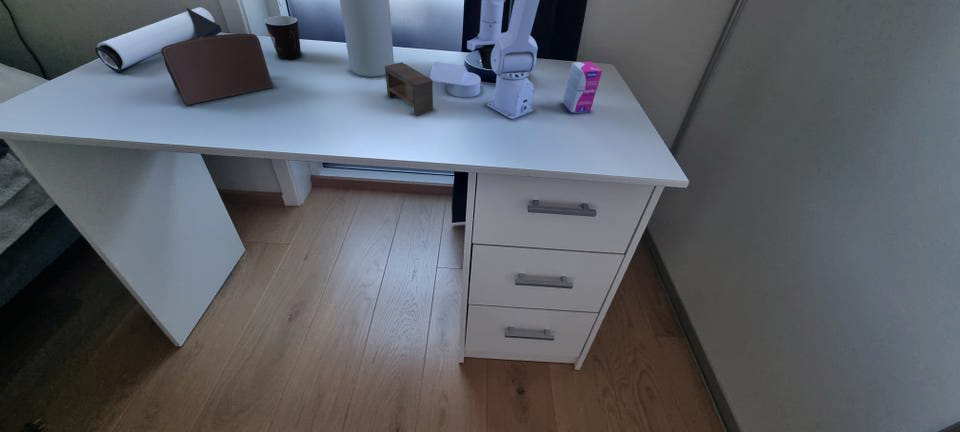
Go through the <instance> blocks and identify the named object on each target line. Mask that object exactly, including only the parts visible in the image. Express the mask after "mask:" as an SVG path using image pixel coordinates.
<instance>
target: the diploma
mask: <svg viewBox="0 0 960 432" xmlns="http://www.w3.org/2000/svg"><path fill="white" fill-rule="evenodd" d="M185 9H186V11H184V12H181V13H179V14H176V15H173V16H170V17H167V18H164V19H161V20H159V21H157V22H154V23H150V24H148V25H145V26H142V27H140V28H137V29H135V30H132V31H129V32H125V33H123V34H120V35H117V36H115V37H111V38H109V39H107V40H103V41H101V42H98V43H97V45H96V47H95V49H94V51H95V53H96V55H97V56H98V58H99V59H100V60H101V62H103V64H104V65H105V66H106V67H108V68H109V69H110V70H112V71H113V72H115V73H117V74H121V73H123V72H125V71H127V70H128V69H130V68H133V67H134V66H136V65H139V64H141V63H143V62H145V61H147V60H148V59H151V58H152V57H154V56H156V55H158V54H159V55H160V54H162V53H161V49H162V48H163V47H165V46H167V45H171V44H174V43H178V42H182V41H186V40H190V39H194V38H200V37H206V36H214V35H219V34H220V33H222V32H223V30H222V28H221V27H222V26H220V25H219V24H217V23H216V22H215V19H214V17H213V15H212V14H211V12H209V11H208V10H207V9H206V8H204V7H200V6H198V7H195V8H192V9H190V8H188V7H185Z"/></svg>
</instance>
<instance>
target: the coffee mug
mask: <svg viewBox="0 0 960 432" xmlns="http://www.w3.org/2000/svg"><path fill="white" fill-rule="evenodd" d="M263 22H264V25H265V26H266V29H267V32H268V34H269V37H270V40H271V42H272V44H273V47H274V50H275V52H276V55H277V58H278V59H280V60H282V61H295V60H297V59H300V58H301V57H302V50H301V41H300V40H301V39H300V32H299V31H300V30H299V23H298V18H296V17H294V16H290V15H275V16H270V17H267V18H265V19H264V20H263Z"/></svg>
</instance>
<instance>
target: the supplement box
mask: <svg viewBox="0 0 960 432" xmlns="http://www.w3.org/2000/svg"><path fill="white" fill-rule="evenodd" d="M602 74H603V70H602V69H601V68H599V66H597V65H596V64H595V63H594V62H593V61H576V62H571V66H570V70H569V74H568V79H567V83H566V87H565V90H564V95H563V99H562V103H561V105H562V106H563V107H564V108H565V109H566V110H567V111H568V113H569V114H585V113H587V114H588V113H591V110H592V107H593V104H594V100H595V96H596V93H597V90H598V86H599V83H600V80H601V77H602Z"/></svg>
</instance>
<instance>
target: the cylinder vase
mask: <svg viewBox="0 0 960 432" xmlns="http://www.w3.org/2000/svg"><path fill="white" fill-rule="evenodd" d="M339 5H340V12H341V17H342V24H343V29H344V30H343V31H344V37H345V44H346V50H347V56H348V63H349V68H350V70H351V72H353V73H354V74H356V75H358V76H362V77H368V78H370V77H371V78H375V77H382V76H386V73H385V66H387V65H392V64H395V60H394V59H395V57H394V45H393V33H392V21H391V20H392V19H391V8H390V0H339Z"/></svg>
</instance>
